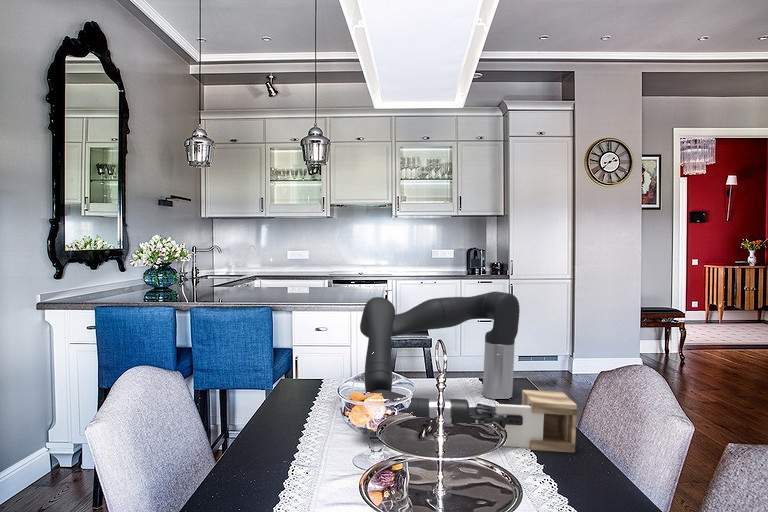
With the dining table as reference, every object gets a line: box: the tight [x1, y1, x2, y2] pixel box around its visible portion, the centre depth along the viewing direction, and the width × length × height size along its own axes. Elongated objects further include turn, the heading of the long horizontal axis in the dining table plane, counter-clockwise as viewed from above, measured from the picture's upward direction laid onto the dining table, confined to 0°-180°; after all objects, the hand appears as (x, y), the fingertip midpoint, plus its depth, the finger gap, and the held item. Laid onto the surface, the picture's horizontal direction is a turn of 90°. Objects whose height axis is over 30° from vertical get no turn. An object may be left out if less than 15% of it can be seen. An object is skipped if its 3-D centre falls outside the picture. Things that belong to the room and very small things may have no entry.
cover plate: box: [494, 403, 544, 449], centre depth 120 cm, size 2×11×9 cm, turn 87°
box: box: [521, 389, 578, 453], centre depth 123 cm, size 11×10×11 cm
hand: (521, 418), depth 119 cm, fingers closed on cover plate, 1 cm apart
